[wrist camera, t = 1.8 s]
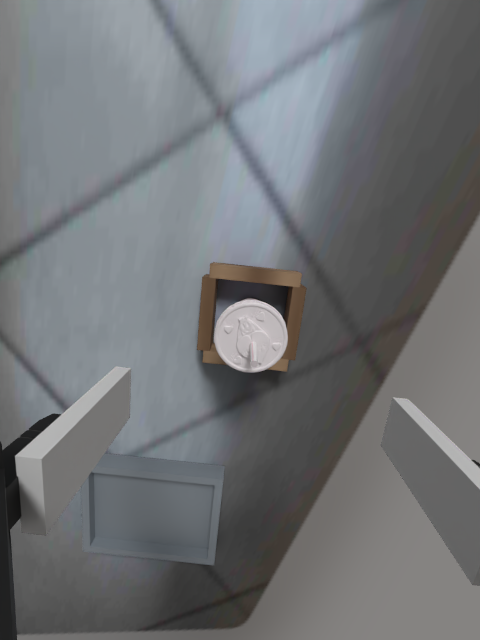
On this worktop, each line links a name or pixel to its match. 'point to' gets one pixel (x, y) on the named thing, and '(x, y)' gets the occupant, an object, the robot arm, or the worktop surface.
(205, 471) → the tray
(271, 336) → the smoothie
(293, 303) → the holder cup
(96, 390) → the robot arm
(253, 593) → the worktop surface
